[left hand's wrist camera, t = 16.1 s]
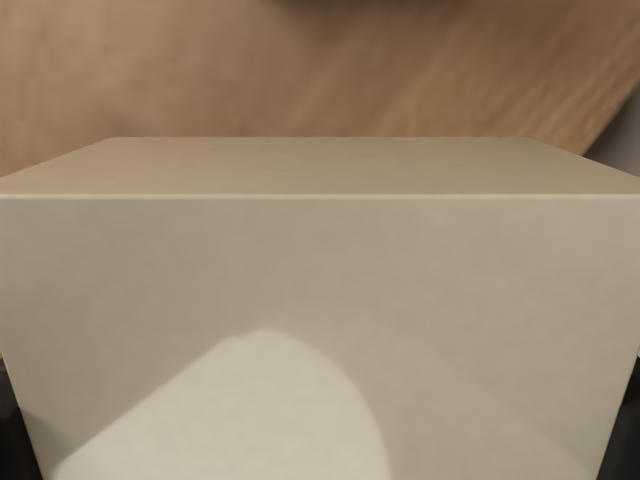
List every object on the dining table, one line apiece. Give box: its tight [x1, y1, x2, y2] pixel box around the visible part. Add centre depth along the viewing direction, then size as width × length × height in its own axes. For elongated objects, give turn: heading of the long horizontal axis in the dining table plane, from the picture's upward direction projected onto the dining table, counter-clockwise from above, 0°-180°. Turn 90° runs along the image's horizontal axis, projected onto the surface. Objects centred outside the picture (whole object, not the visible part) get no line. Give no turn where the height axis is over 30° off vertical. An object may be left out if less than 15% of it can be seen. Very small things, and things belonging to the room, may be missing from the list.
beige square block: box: [0, 137, 640, 480], centre depth 10 cm, size 10×10×5 cm
